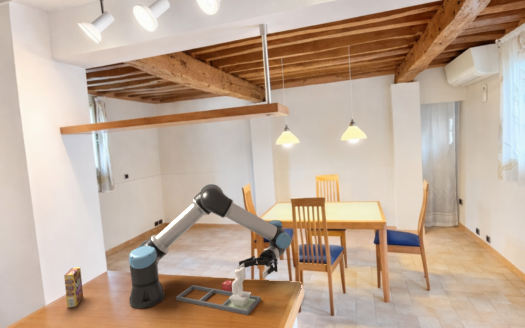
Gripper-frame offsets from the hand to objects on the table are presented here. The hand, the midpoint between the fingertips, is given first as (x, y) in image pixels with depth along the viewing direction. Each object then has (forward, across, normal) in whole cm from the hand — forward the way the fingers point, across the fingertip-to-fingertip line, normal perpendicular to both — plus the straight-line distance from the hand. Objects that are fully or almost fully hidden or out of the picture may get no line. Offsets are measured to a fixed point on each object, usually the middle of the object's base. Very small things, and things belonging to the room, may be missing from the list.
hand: (249, 273), depth 141 cm
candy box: (+33, +76, -10) cm, 83 cm away
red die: (+1, +12, -10) cm, 15 cm away
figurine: (+9, 0, -10) cm, 13 cm away
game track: (+10, +12, -10) cm, 18 cm away
